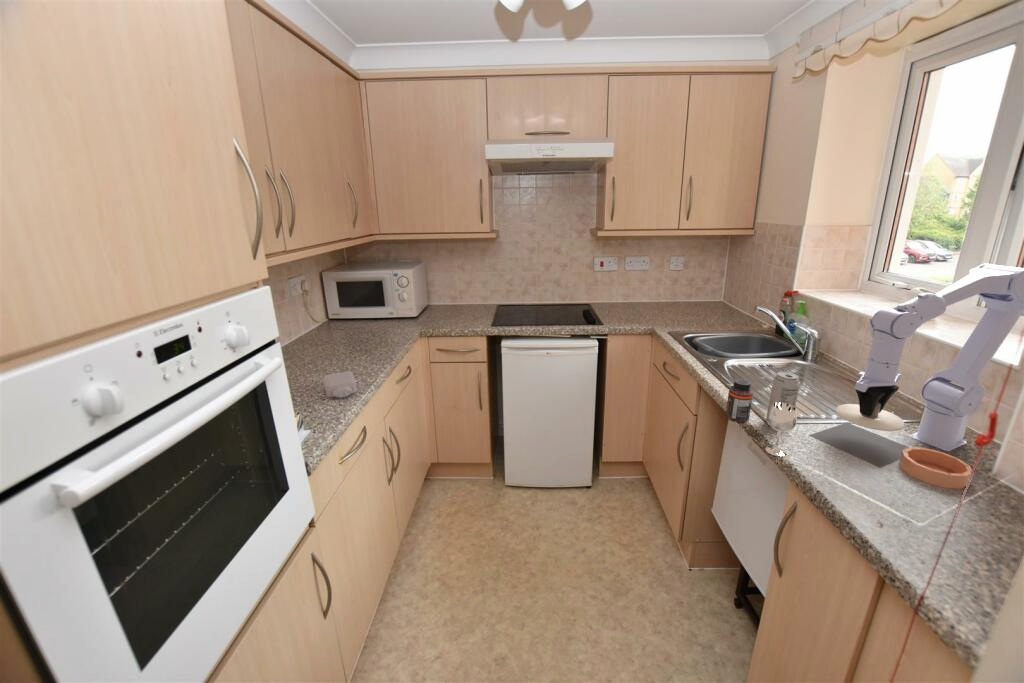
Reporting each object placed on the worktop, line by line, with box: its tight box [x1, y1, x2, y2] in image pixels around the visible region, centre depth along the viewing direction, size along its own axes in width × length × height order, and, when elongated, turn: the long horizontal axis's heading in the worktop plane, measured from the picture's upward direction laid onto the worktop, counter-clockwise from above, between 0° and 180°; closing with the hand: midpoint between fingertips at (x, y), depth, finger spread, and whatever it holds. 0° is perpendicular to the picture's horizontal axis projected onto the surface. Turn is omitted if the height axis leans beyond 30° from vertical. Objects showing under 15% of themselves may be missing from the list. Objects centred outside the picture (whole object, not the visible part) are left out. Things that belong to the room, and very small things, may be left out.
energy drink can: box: [765, 371, 801, 427], centre depth 116 cm, size 6×6×15 cm
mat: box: [808, 422, 909, 469], centre depth 109 cm, size 16×16×1 cm
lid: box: [835, 402, 905, 432], centre depth 106 cm, size 13×13×4 cm
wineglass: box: [765, 402, 798, 457], centre depth 104 cm, size 6×6×12 cm
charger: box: [323, 370, 358, 398], centre depth 142 cm, size 5×9×15 cm
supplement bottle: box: [725, 378, 754, 423], centre depth 121 cm, size 6×6×11 cm
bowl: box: [898, 446, 973, 490], centre depth 96 cm, size 11×11×4 cm
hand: (869, 412), depth 106 cm, fingers closed on lid, 3 cm apart
